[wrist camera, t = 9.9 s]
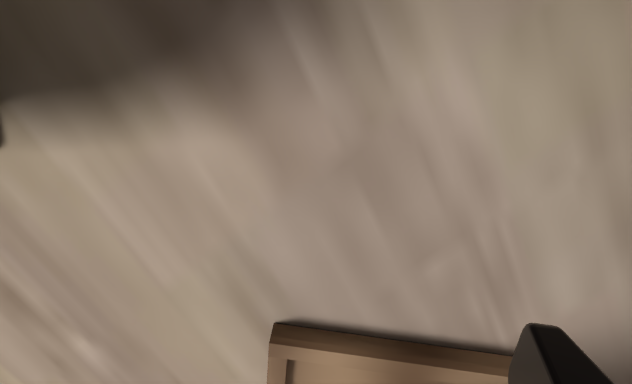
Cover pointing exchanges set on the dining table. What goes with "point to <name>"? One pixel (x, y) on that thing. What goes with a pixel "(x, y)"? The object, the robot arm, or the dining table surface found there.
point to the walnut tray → (374, 360)
